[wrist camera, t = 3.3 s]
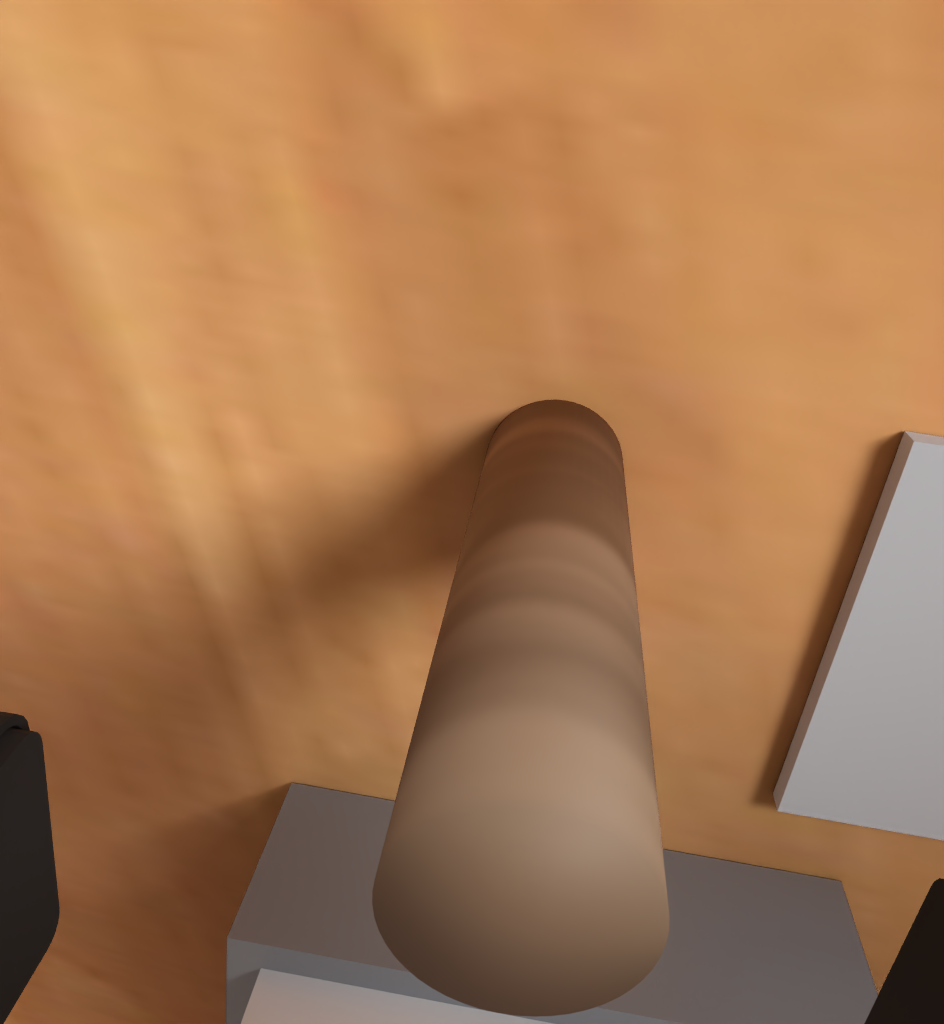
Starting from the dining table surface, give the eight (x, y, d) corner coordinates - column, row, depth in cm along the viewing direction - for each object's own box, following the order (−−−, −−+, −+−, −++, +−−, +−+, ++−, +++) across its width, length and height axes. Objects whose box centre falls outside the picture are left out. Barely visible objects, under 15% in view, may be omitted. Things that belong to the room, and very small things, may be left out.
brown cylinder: (496, 389, 19) (385, 779, 9) (635, 411, 19) (702, 834, 8) (477, 514, 21) (362, 987, 10) (608, 535, 20) (634, 1039, 10)
